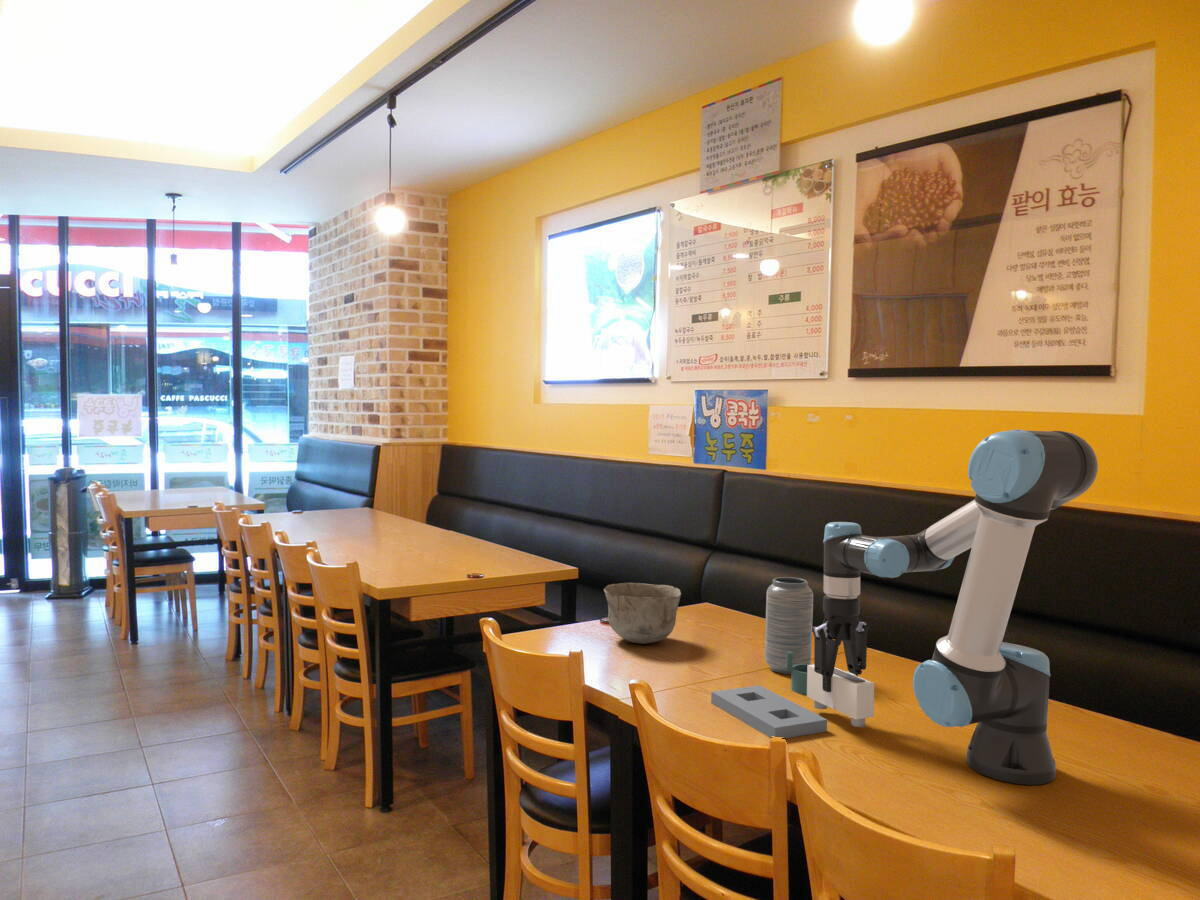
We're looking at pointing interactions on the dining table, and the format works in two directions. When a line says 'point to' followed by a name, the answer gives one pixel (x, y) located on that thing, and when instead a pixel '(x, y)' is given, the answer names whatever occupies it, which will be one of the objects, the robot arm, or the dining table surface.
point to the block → (844, 694)
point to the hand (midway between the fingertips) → (839, 704)
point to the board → (769, 712)
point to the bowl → (642, 610)
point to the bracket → (797, 675)
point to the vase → (788, 623)
